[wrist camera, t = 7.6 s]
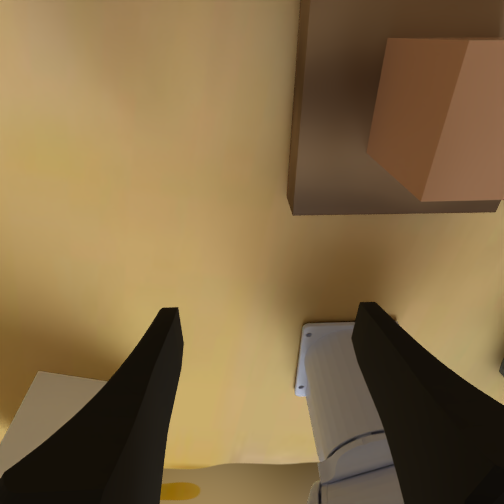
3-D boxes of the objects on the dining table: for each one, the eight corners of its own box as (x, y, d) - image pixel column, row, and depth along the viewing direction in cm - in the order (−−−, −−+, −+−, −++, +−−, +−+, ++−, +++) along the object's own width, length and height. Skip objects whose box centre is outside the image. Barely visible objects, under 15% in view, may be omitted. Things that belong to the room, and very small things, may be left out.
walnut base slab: (470, 194, 22) (495, 212, 20) (286, 197, 21) (292, 215, 19) (567, -52, 15) (621, -66, 13) (304, -57, 14) (316, -73, 12)
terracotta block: (460, 150, 17) (552, 198, 12) (366, 152, 17) (420, 201, 12) (499, 37, 15) (637, 39, 10) (387, 37, 14) (469, 40, 9)
